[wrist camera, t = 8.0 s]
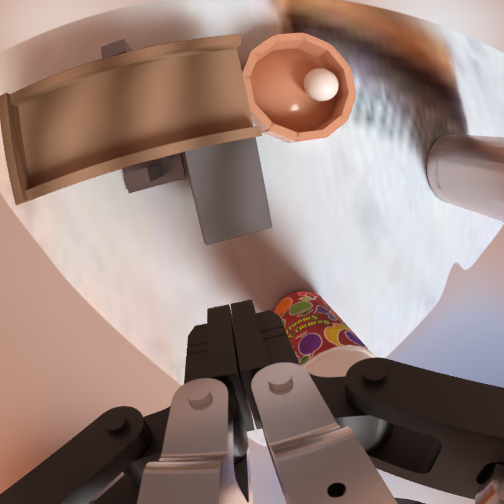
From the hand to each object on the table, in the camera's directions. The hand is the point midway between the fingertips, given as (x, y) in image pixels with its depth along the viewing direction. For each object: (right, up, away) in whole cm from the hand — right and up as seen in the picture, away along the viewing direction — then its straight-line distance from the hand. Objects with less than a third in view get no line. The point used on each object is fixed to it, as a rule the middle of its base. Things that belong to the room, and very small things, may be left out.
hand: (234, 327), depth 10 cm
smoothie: (+6, -5, +27) cm, 28 cm away
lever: (-9, +11, +15) cm, 20 cm away
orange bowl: (+5, +19, +19) cm, 27 cm away
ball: (+7, +19, +17) cm, 26 cm away
